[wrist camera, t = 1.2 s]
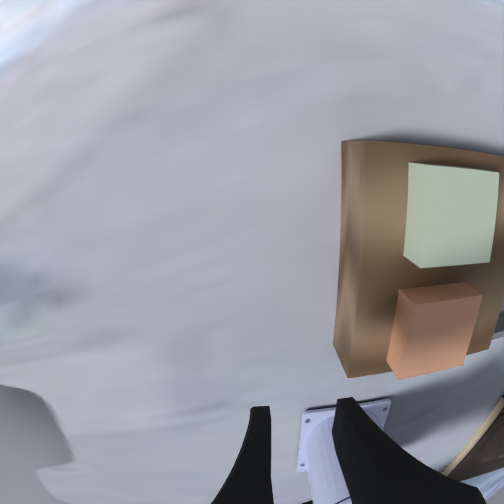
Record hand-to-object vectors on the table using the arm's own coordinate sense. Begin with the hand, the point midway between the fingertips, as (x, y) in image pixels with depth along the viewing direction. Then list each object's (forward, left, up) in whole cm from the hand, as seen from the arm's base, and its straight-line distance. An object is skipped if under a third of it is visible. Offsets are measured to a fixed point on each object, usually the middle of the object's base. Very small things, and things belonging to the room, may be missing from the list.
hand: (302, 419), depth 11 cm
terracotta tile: (0, -9, -6) cm, 11 cm away
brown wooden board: (+3, -10, -10) cm, 15 cm away
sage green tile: (+7, -9, -6) cm, 13 cm away
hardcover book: (-26, -36, -11) cm, 46 cm away
